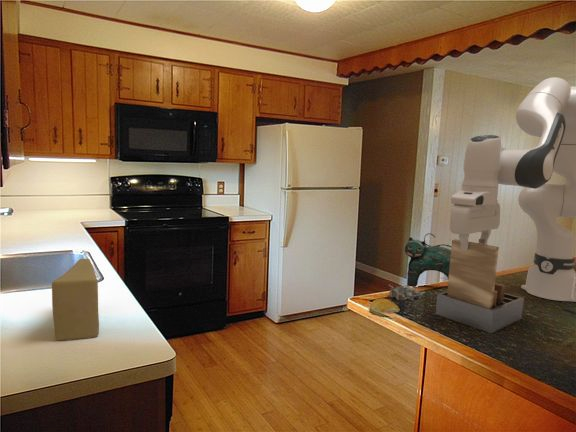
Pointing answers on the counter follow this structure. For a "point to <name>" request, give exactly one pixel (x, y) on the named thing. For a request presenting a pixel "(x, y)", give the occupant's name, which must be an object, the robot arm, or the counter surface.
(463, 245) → the robot arm
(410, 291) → the egg carton
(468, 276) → the birch sheet
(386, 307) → the bread roll
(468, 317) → the rack
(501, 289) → the walnut offcut
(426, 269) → the ceramic cat
